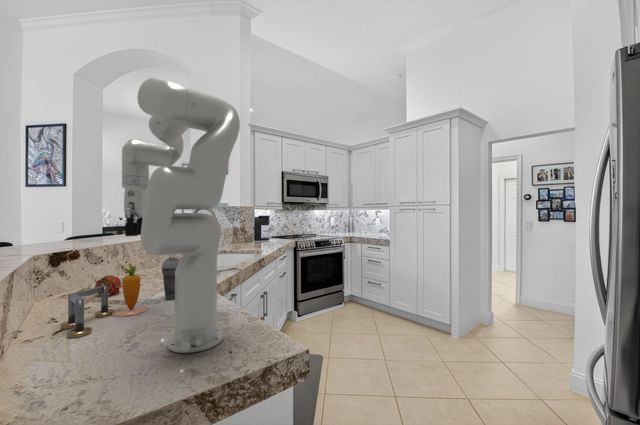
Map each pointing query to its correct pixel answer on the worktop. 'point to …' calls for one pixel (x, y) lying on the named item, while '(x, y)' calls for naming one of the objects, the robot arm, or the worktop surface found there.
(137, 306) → the terracotta coaster
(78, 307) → the grey cabinet handle
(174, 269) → the beverage cup
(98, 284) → the dragon fruit
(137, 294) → the carrot
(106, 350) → the worktop surface
